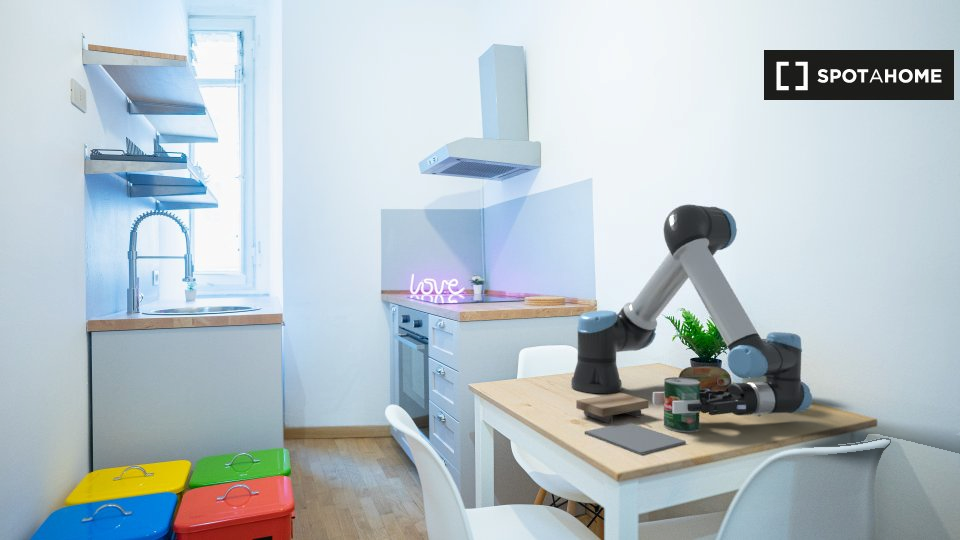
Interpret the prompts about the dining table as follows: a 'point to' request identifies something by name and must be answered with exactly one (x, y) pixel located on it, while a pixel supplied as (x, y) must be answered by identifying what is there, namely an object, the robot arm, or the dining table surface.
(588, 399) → the wooden serving board
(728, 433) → the dining table surface
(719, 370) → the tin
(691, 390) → the canned tomato
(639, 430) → the flat gray pad
